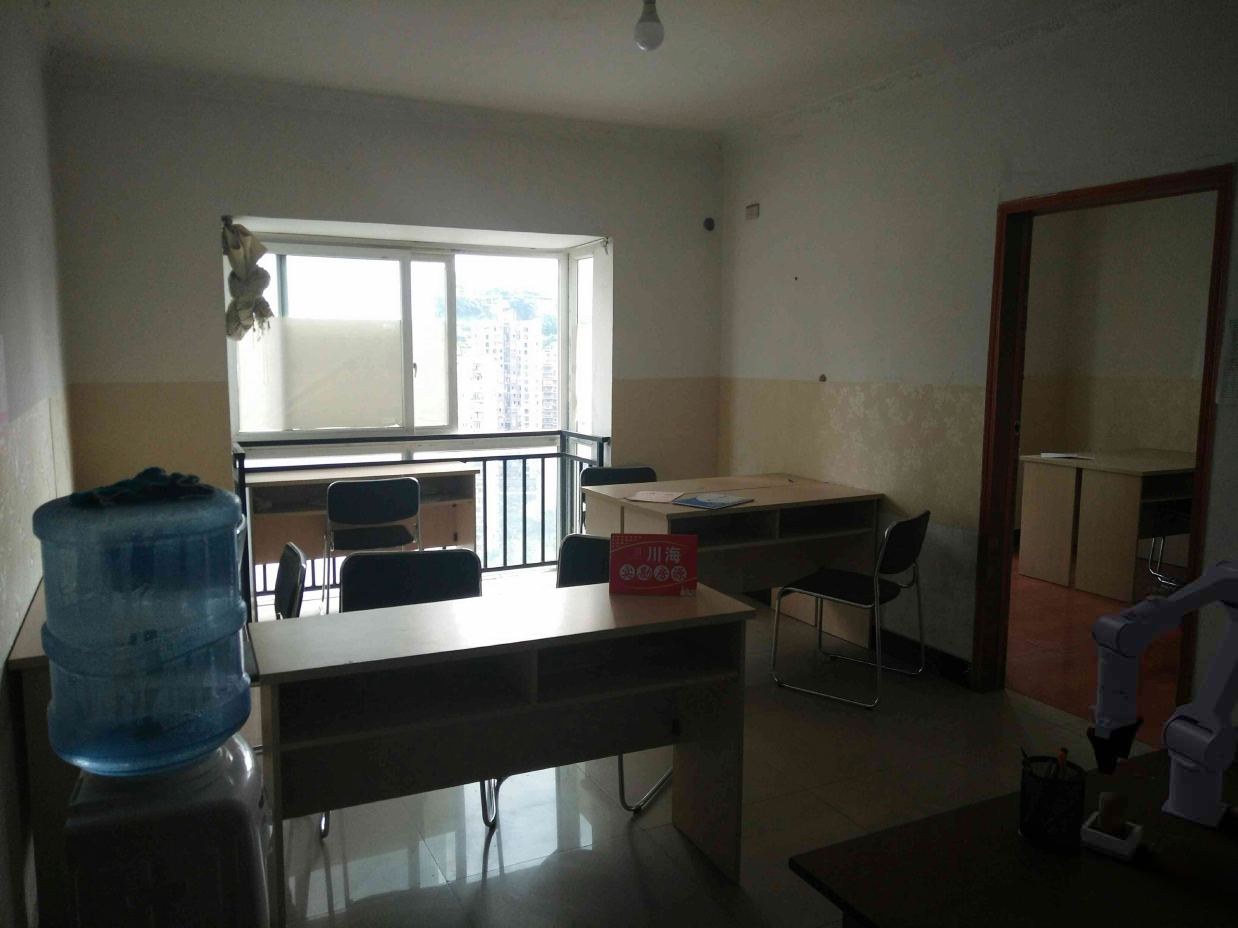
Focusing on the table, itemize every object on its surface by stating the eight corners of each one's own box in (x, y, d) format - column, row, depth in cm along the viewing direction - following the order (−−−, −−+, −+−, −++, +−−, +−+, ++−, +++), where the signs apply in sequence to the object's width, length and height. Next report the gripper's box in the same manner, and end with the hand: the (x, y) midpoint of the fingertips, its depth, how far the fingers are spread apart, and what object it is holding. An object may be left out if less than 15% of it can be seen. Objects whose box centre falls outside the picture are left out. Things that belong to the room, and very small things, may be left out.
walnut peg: (1128, 837, 140) (1131, 797, 139) (1121, 848, 137) (1124, 806, 136) (1100, 828, 143) (1103, 788, 142) (1093, 838, 140) (1096, 797, 139)
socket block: (1094, 827, 145) (1094, 811, 145) (1141, 843, 140) (1142, 826, 140) (1080, 844, 140) (1080, 827, 140) (1128, 861, 135) (1129, 843, 135)
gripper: (1104, 669, 151) (1101, 743, 153) (1076, 693, 141) (1072, 772, 143) (1150, 679, 146) (1146, 755, 148) (1124, 704, 136) (1120, 786, 138)
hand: (1113, 764), depth 145 cm, fingers open, 7 cm apart
